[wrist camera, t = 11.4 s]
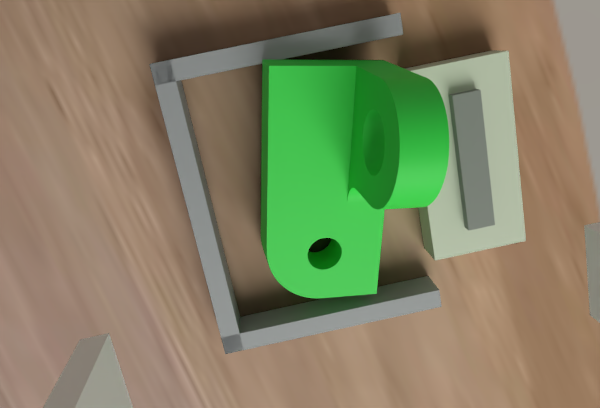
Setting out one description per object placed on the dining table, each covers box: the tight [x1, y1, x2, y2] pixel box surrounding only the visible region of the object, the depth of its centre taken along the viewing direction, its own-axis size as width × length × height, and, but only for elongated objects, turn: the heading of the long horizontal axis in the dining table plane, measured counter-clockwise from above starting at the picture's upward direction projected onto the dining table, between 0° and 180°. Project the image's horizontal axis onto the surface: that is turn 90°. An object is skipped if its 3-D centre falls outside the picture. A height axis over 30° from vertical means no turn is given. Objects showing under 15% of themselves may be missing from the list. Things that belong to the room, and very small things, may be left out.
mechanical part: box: [261, 59, 449, 298], centre depth 26 cm, size 12×6×8 cm, turn 179°
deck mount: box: [150, 13, 526, 354], centre depth 30 cm, size 17×16×3 cm
